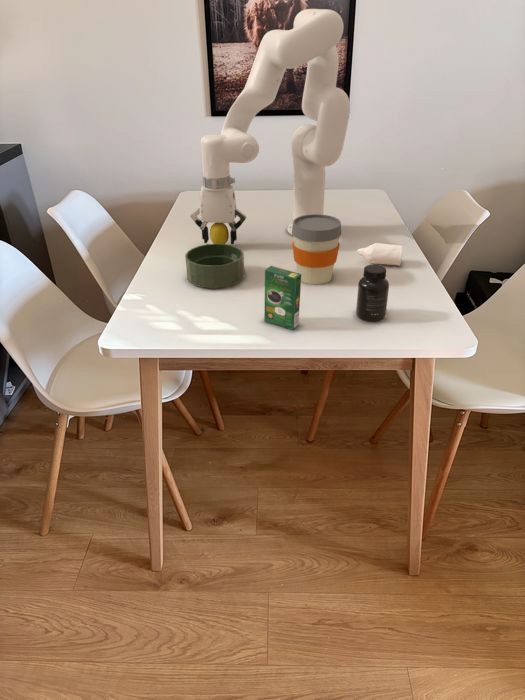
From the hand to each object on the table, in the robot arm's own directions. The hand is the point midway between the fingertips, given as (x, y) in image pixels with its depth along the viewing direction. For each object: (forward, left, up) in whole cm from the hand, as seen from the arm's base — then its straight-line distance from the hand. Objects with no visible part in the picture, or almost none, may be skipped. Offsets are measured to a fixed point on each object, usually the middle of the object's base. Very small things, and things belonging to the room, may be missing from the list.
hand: (219, 241), depth 165 cm
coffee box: (-23, +44, -2) cm, 50 cm away
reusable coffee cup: (-29, +18, -2) cm, 34 cm away
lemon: (0, 0, -2) cm, 2 cm away
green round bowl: (-3, +21, -2) cm, 21 cm away
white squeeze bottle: (-46, +7, -2) cm, 47 cm away
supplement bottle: (-43, +38, -2) cm, 57 cm away
